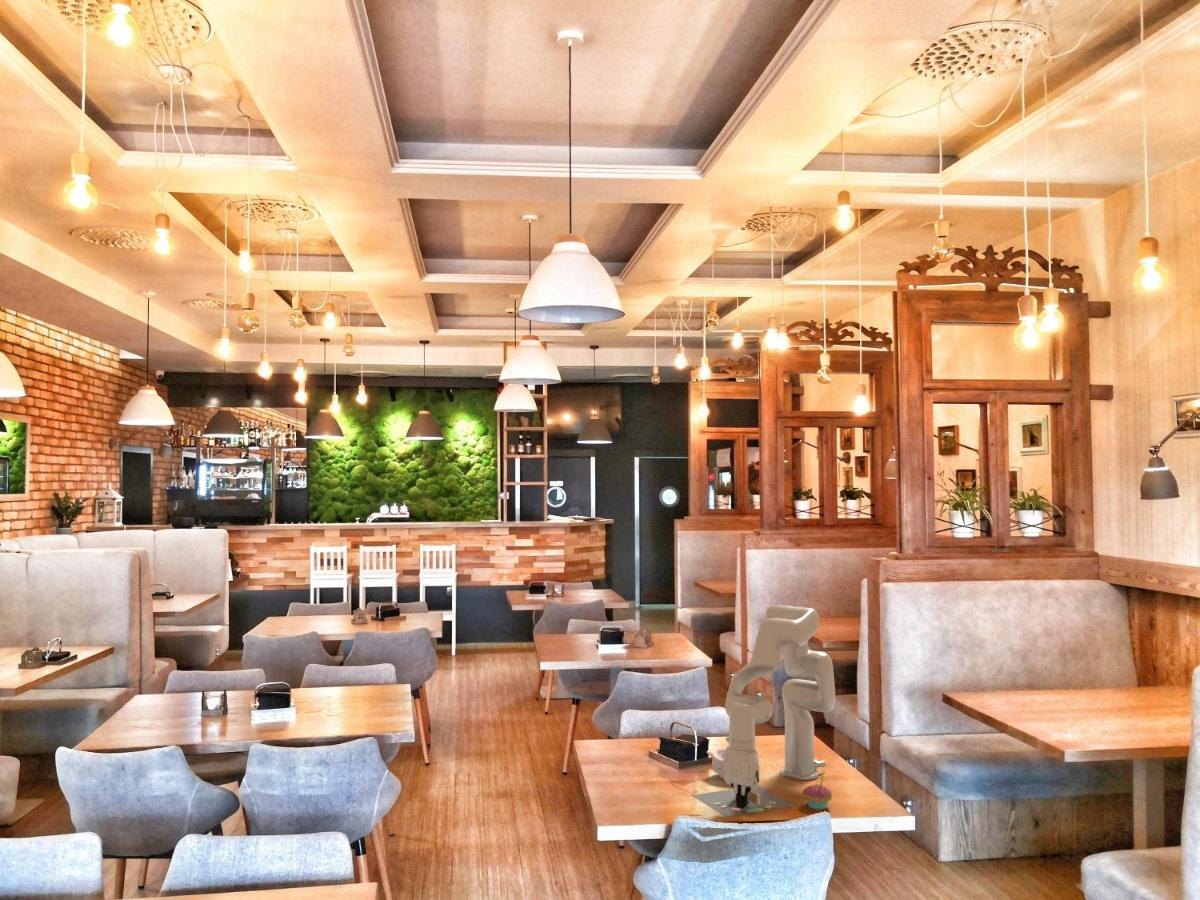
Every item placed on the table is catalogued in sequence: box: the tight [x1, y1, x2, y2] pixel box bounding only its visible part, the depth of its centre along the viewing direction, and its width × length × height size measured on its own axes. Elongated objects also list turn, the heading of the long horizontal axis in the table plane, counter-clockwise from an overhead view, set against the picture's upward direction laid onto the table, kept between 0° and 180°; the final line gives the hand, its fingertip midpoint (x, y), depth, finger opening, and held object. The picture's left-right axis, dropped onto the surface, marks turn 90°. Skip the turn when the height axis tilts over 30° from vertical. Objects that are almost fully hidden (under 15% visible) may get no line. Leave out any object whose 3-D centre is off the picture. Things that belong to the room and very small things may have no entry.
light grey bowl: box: [711, 748, 759, 780], centre depth 305 cm, size 15×15×8 cm
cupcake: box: [802, 769, 833, 810], centre depth 277 cm, size 9×8×12 cm
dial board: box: [691, 785, 795, 818], centre depth 281 cm, size 24×20×1 cm
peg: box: [734, 791, 760, 805], centre depth 277 cm, size 13×5×5 cm, turn 18°
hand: (741, 806), depth 272 cm, fingers closed
